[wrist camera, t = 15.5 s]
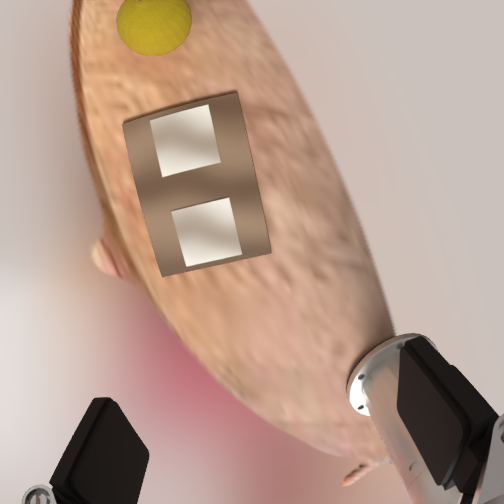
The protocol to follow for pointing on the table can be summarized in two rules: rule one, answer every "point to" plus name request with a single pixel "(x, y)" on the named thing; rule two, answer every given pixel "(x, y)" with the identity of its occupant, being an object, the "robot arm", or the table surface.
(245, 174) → the label board
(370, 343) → the table surface
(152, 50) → the lemon
